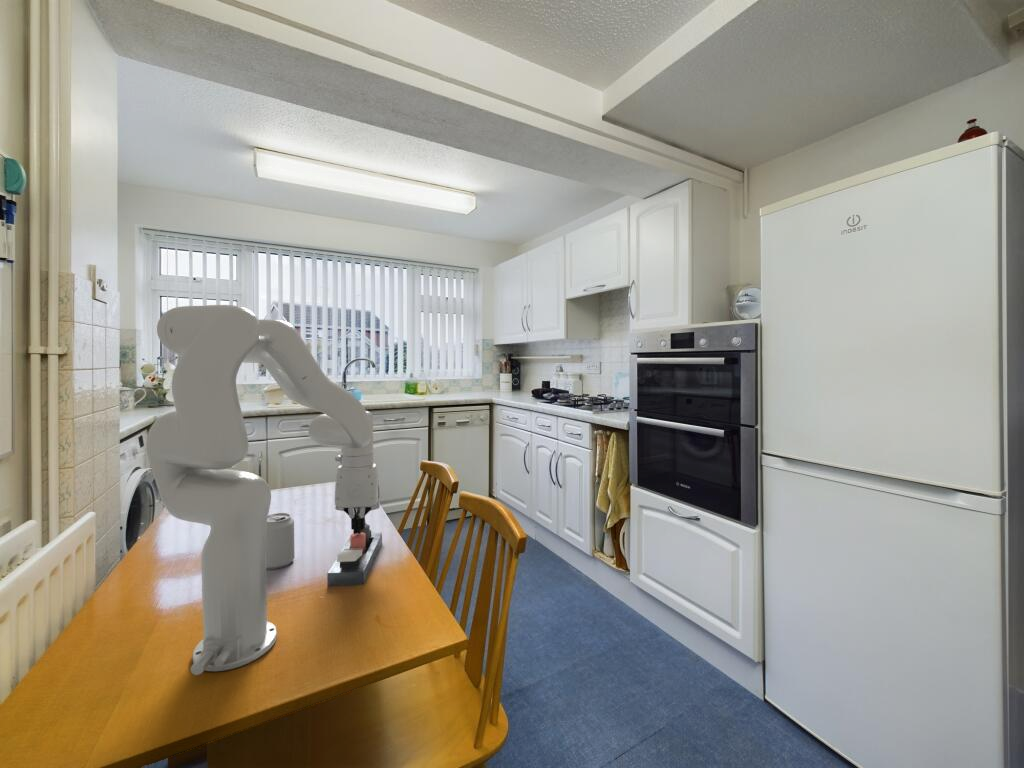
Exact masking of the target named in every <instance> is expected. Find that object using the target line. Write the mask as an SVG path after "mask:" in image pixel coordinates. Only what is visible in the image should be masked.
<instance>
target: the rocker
mask: <svg viewBox="0 0 1024 768" xmlns="http://www.w3.org/2000/svg"><path fill="white" fill-rule="evenodd" d="M362 549H363V548H351V549H344V550H343V551H342V550H341V551H342V552H341V551H340V552H341V553H340V552H339V553H338V554H336V555H337V556H336V559H337V562H347V561H356V560H357V559H358V558H359V557H360V556H362Z"/></svg>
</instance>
